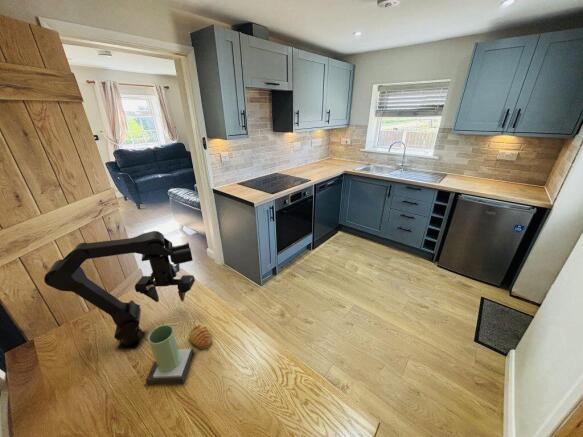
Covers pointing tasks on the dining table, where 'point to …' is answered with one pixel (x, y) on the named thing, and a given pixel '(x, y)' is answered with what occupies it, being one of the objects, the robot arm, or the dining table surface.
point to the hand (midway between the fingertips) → (170, 301)
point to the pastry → (200, 336)
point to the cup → (164, 348)
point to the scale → (172, 376)
